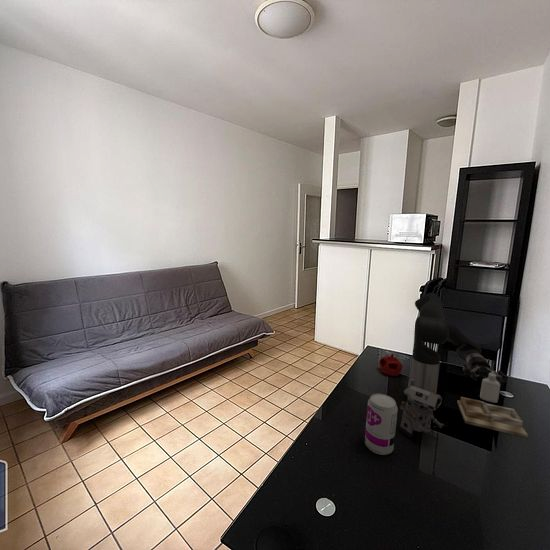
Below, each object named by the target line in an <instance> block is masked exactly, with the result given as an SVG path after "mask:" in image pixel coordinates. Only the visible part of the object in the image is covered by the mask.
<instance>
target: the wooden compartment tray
mask: <svg viewBox="0 0 550 550" xmlns="http://www.w3.org/2000/svg"><path fill="white" fill-rule="evenodd" d="M456 403H457V406H458V408H459V412H460V413H461V417H462V419H463V422H464V423H465V424H467V425H471V426H476V427H480V428H484V429H489V430H492V431H493V430H494V431H497V432H501V433H505V434H510V435H515V436H518V437H523V438H527V439H528V436H529V435H528V433H527V432H526V430H525V428H523V422H524V421H523V420H522V418H521V417H520V415H519V414H518V412H517V411H516V410H515V409H514V408H510V407H506V406H501V405H496V404H491V403H487V402H485V400H484V401H483V400H478V399H473V398H469V397H464V396H460V400H458V399H457V402H456Z"/></svg>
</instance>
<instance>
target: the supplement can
mask: <svg viewBox="0 0 550 550" xmlns="http://www.w3.org/2000/svg"><path fill="white" fill-rule="evenodd" d="M398 410H399V409H398V406H397V402H396V400H395V399H394V398H393V397H391V396H389V395H387V394H384V393H373V394H372V395H371V396H370V397H369V399H368V401H367V410H366V419H365V420H366V422H365V431H364V443H365V446H366V447H367V448H368V449H369V451H371V452H373V453H374V454H376V455H381V456H387V455H389V454H391V453H393V451H394V446H395V437H396V428H397V418H398Z"/></svg>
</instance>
